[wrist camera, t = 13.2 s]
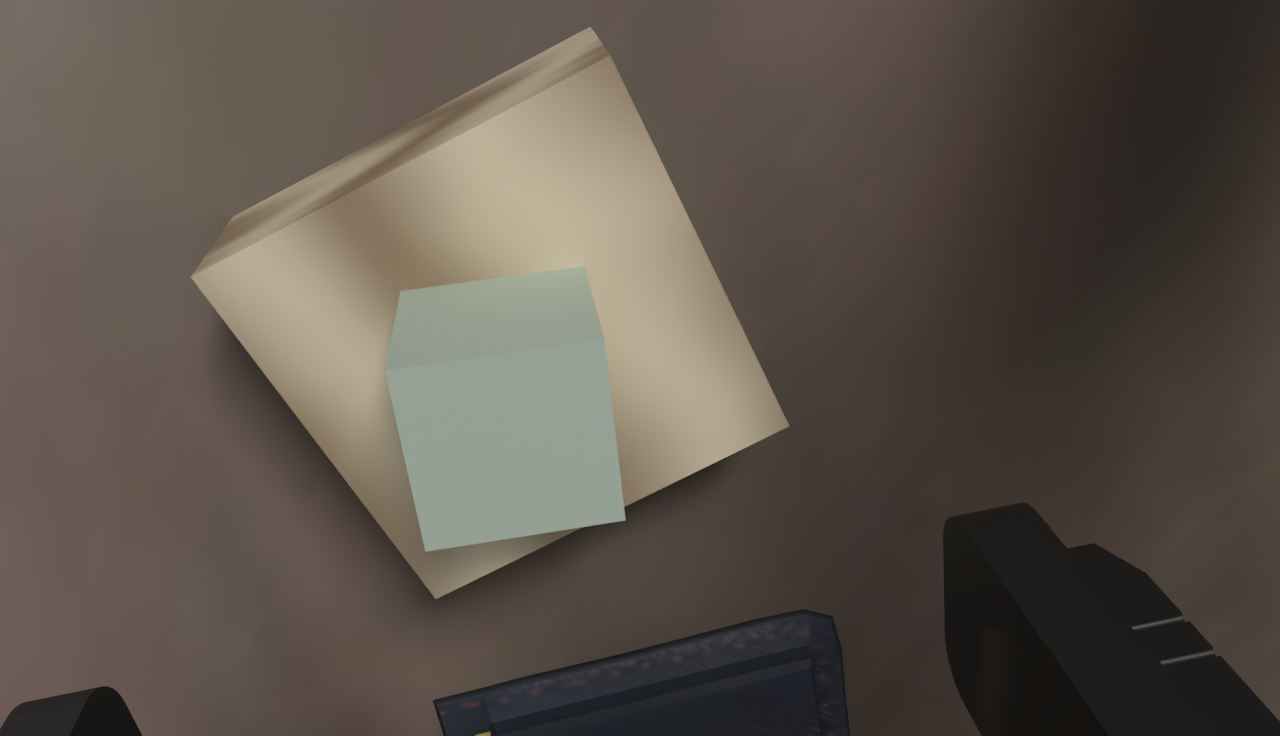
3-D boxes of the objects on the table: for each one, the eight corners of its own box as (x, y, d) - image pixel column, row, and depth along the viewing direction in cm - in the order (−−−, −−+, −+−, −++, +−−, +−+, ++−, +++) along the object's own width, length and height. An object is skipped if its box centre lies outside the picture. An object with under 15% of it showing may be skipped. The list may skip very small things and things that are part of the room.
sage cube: (584, 266, 25) (604, 339, 21) (604, 425, 27) (625, 520, 23) (400, 290, 25) (384, 370, 21) (433, 450, 27) (425, 552, 23)
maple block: (588, 24, 28) (610, 55, 23) (747, 349, 33) (789, 425, 28) (235, 212, 29) (191, 277, 24) (441, 501, 34) (435, 599, 29)
